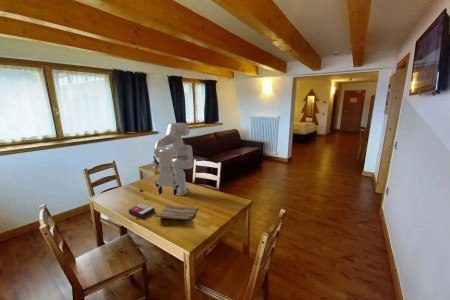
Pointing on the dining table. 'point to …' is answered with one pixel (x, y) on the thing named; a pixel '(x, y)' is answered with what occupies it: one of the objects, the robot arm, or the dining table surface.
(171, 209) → the laid row
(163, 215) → the plank
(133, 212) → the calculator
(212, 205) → the dining table surface
